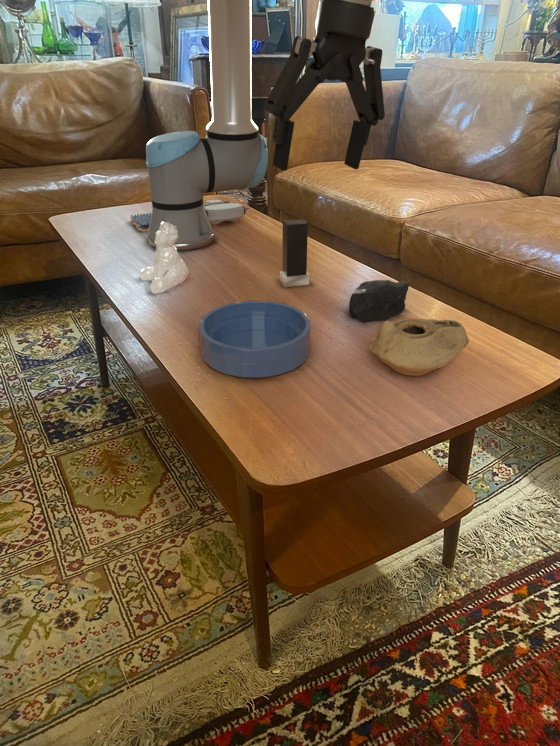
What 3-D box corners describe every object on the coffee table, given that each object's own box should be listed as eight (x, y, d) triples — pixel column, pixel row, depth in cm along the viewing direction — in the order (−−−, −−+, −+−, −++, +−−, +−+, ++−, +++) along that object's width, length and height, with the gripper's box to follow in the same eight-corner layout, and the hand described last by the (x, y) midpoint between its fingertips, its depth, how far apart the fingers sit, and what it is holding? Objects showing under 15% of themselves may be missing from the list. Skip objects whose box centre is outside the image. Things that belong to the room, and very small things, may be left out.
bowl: (194, 335, 88) (191, 307, 86) (291, 322, 92) (291, 295, 90) (211, 388, 75) (209, 357, 72) (324, 371, 79) (325, 341, 76)
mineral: (399, 330, 90) (403, 297, 87) (345, 323, 92) (347, 291, 89) (406, 306, 98) (410, 275, 95) (357, 300, 100) (359, 270, 97)
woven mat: (167, 217, 146) (166, 209, 145) (180, 227, 138) (180, 219, 137) (128, 222, 142) (127, 214, 141) (140, 233, 134) (139, 225, 133)
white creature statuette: (138, 278, 109) (130, 218, 103) (179, 270, 113) (174, 212, 106) (153, 295, 102) (145, 231, 96) (196, 286, 106) (191, 225, 99)
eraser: (284, 287, 105) (285, 225, 99) (279, 280, 108) (279, 220, 102) (309, 284, 106) (311, 223, 100) (303, 278, 109) (304, 218, 103)
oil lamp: (480, 366, 80) (491, 317, 76) (405, 397, 73) (412, 344, 69) (426, 336, 88) (433, 290, 84) (353, 362, 81) (357, 313, 77)
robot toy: (189, 218, 148) (207, 229, 136) (187, 201, 146) (205, 210, 134) (231, 213, 153) (252, 223, 141) (230, 196, 151) (251, 205, 139)
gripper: (284, -13, 62) (259, 176, 74) (435, 16, 75) (392, 173, 87) (251, -19, 67) (233, 159, 79) (398, 9, 80) (363, 159, 92)
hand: (316, 167), depth 83 cm, fingers open, 13 cm apart
